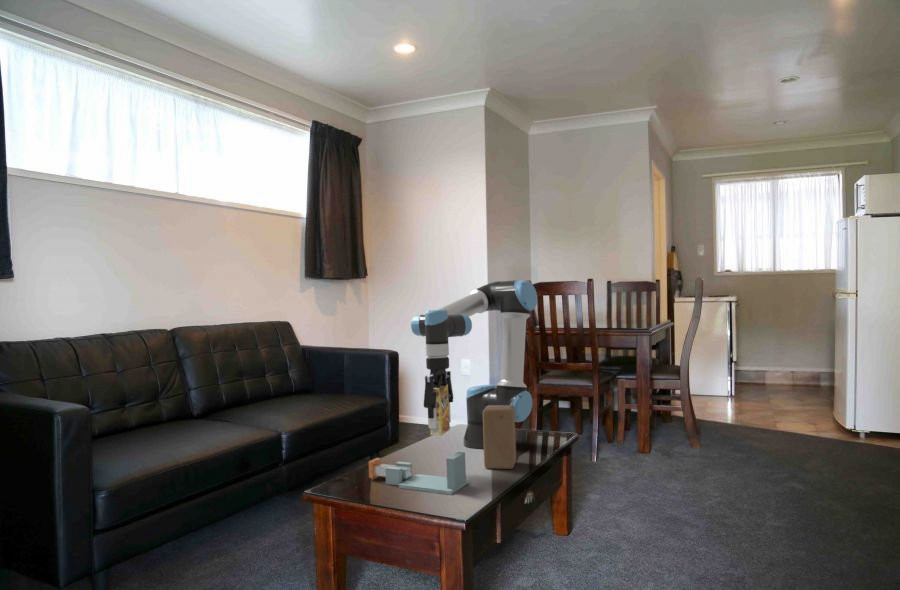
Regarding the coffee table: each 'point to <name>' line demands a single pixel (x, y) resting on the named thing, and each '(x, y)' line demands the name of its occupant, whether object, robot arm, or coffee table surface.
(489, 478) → the coffee table surface
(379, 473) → the ram
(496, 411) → the wooden block
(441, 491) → the press
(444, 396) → the candy box
